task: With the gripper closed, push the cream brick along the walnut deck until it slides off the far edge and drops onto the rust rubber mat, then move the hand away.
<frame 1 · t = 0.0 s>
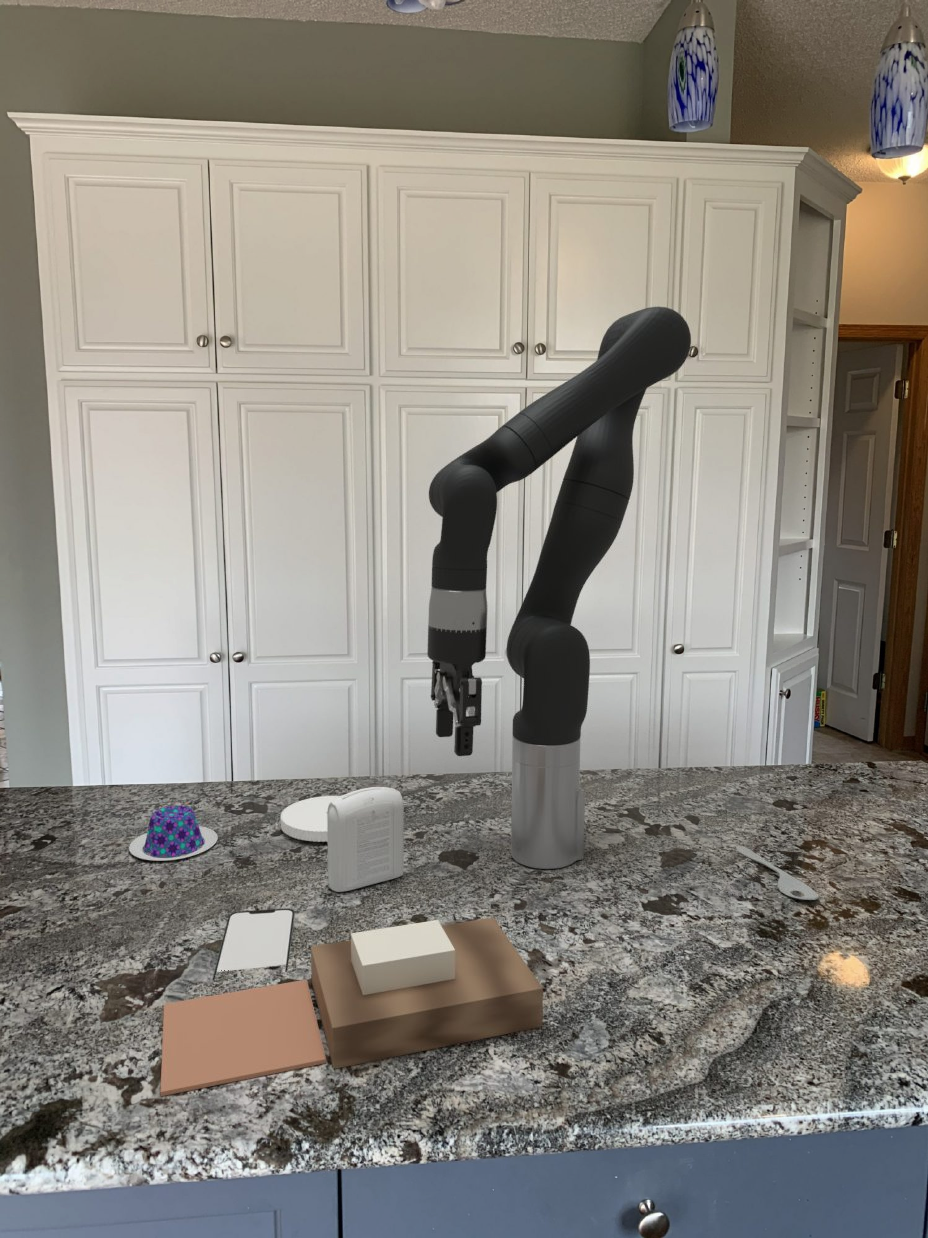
hand: (453, 745, 113), 17 cm above the counter, tool pointing down, fingers open, 8 cm apart
plastic lid: (328, 830, 130), on the counter
smartphone: (255, 951, 97), on the counter
mat: (241, 1034, 81), on the counter
cream brick: (402, 970, 85), point 4 cm above the counter, touching deck
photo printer: (366, 882, 112), on the counter
spoon: (767, 874, 116), on the counter
purple patterned hat: (174, 848, 123), on the counter
deck: (422, 1003, 86), on the counter
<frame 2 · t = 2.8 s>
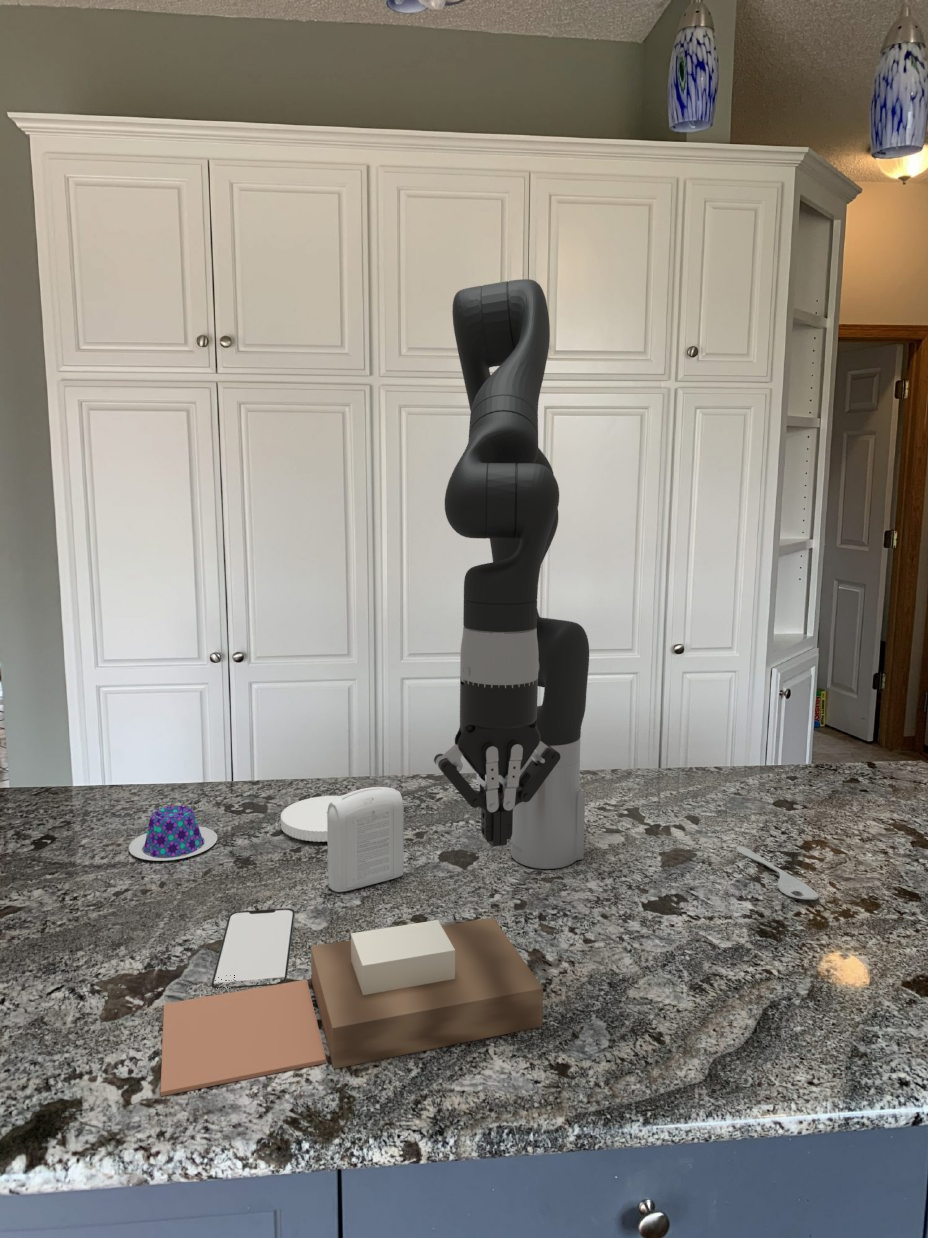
hand: (496, 843, 86), 16 cm above the counter, tool pointing down, fingers closed
nothing on the counter moved.
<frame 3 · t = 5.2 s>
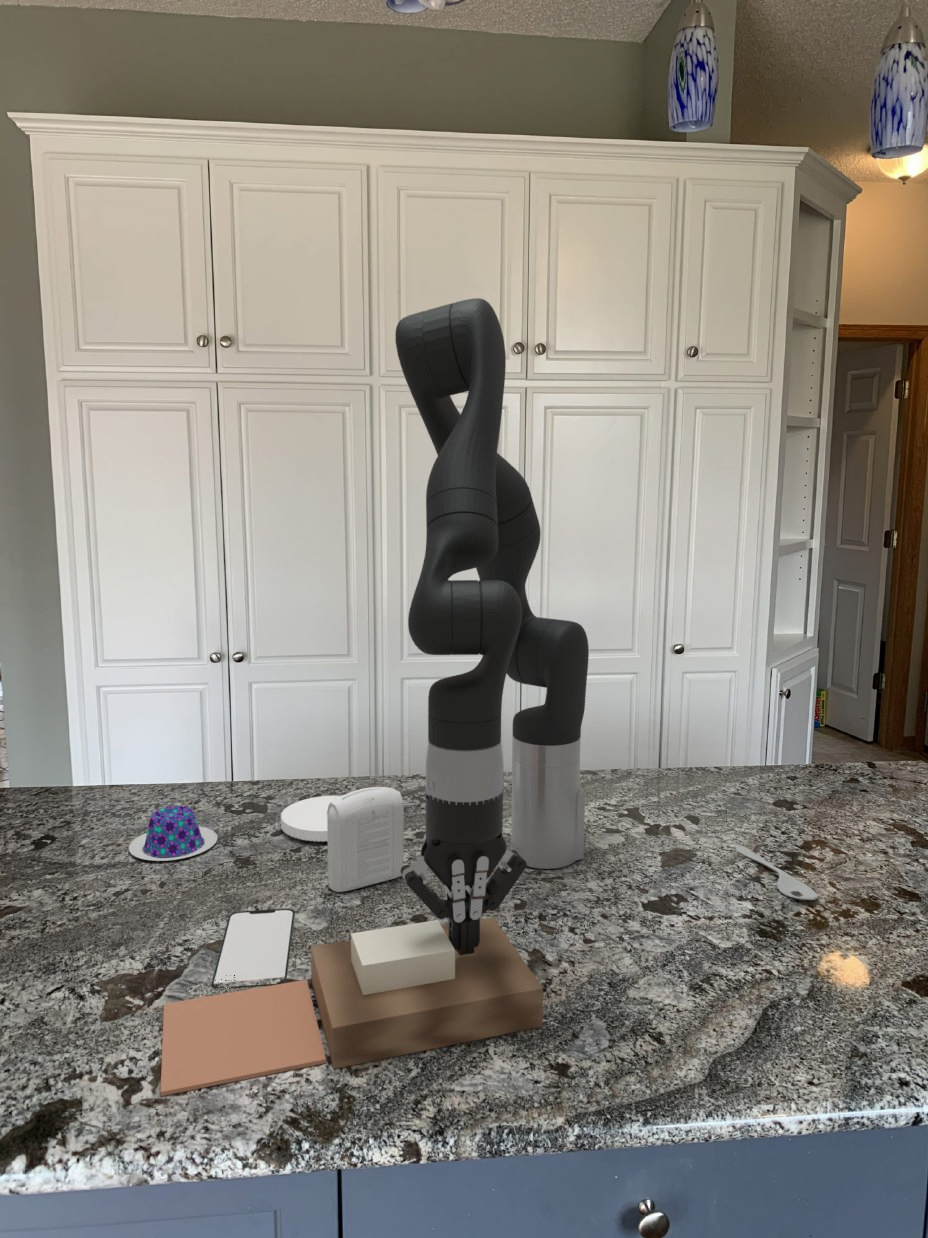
hand: (463, 950, 86), 5 cm above the counter, tool pointing down, fingers closed
cream brick: (402, 970, 85), point 4 cm above the counter, touching gripper
everything else where it was.
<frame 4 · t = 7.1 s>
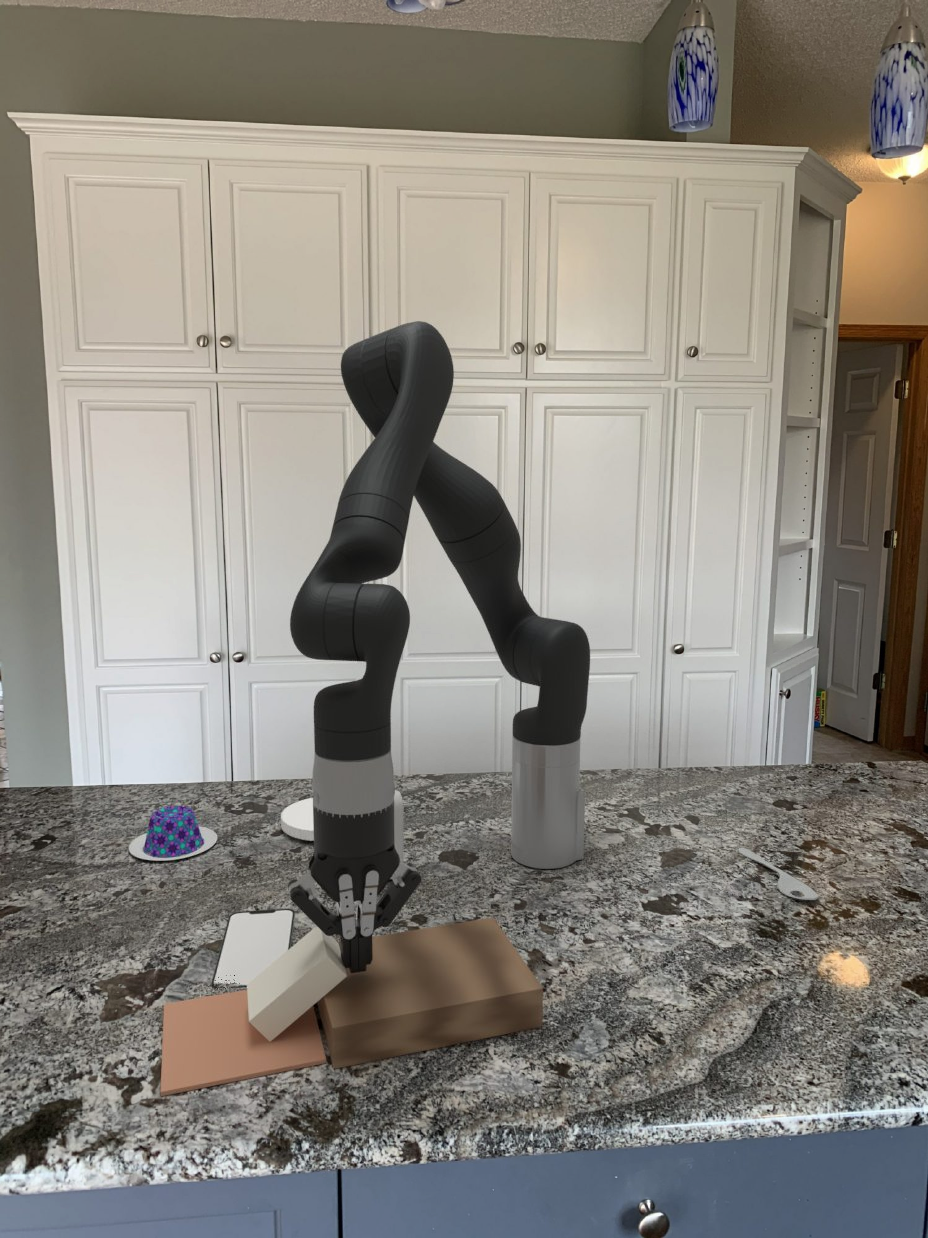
hand: (356, 968, 83), 5 cm above the counter, tool pointing down, fingers closed
cream brick: (305, 990, 83), point 3 cm above the counter, tilted 37°, touching gripper
everything else where it was.
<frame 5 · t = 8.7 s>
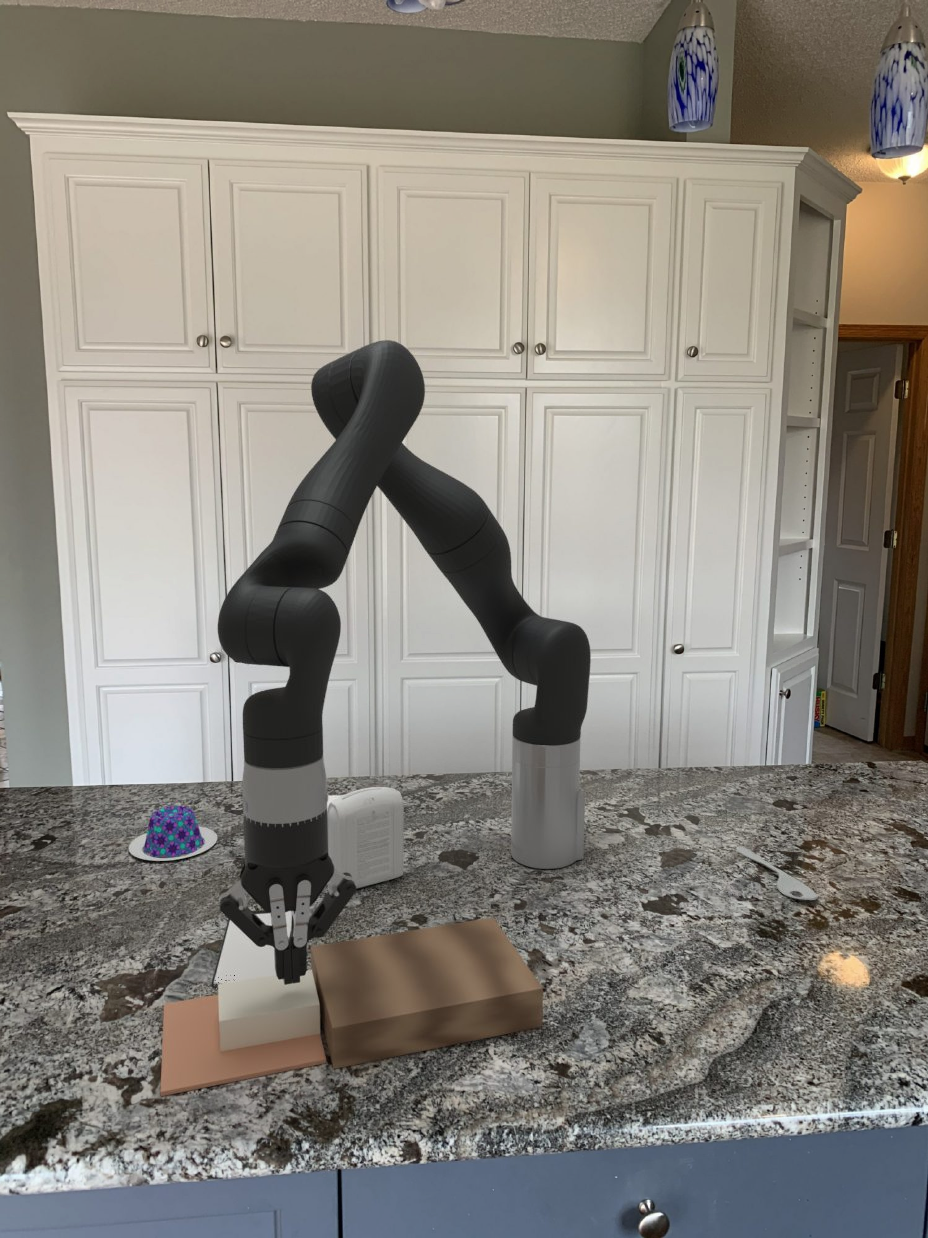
hand: (290, 979, 81), 5 cm above the counter, tool pointing down, fingers closed
cream brick: (268, 1023, 82), resting on mat
everything else where it was.
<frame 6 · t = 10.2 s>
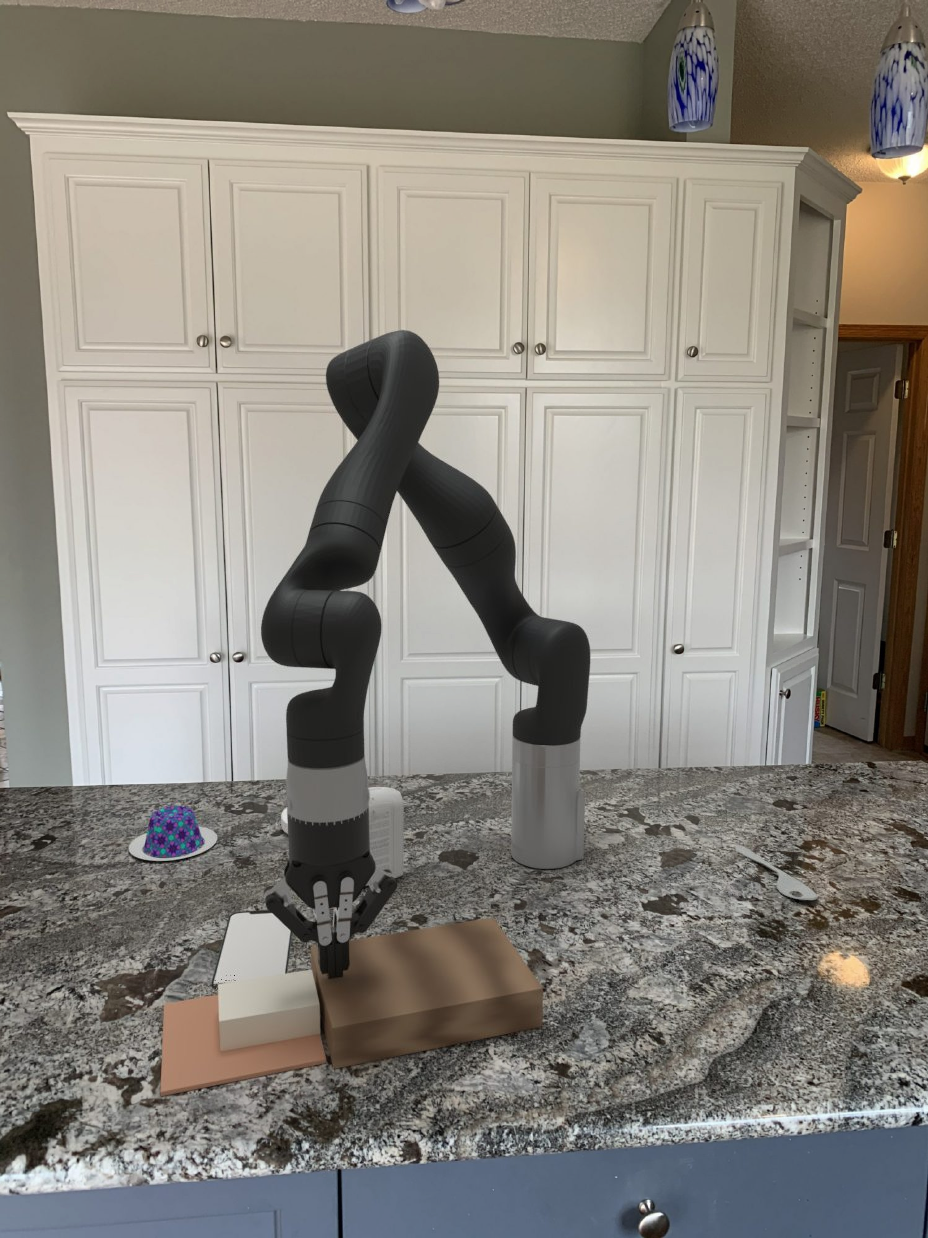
hand: (333, 973, 83), 5 cm above the counter, tool pointing down, fingers closed
nothing on the counter moved.
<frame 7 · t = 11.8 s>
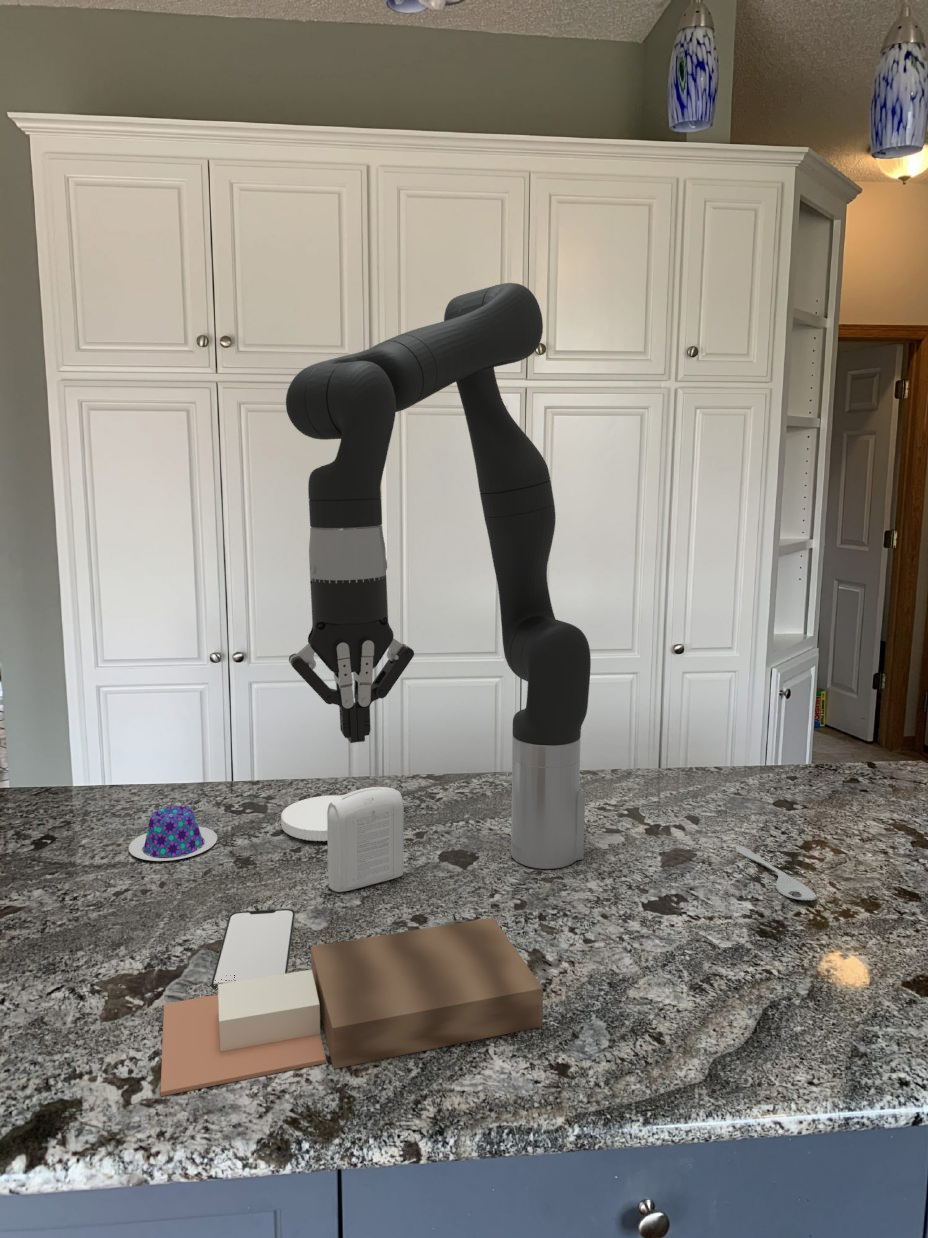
hand: (355, 740, 88), 25 cm above the counter, tool pointing down, fingers closed
nothing on the counter moved.
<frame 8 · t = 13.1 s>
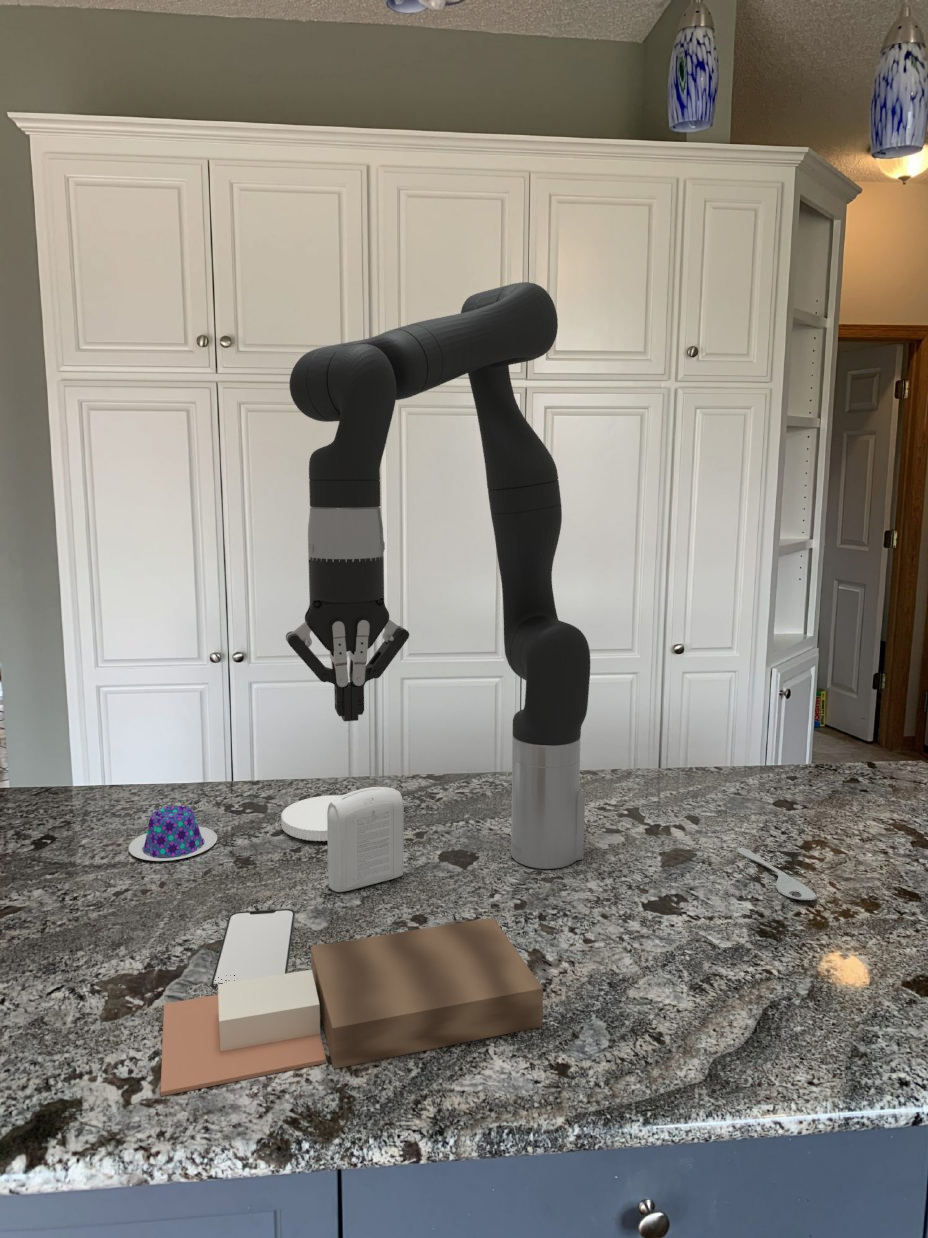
hand: (349, 719, 90), 27 cm above the counter, tool pointing down, fingers closed
nothing on the counter moved.
at the end: cream brick resting on mat; cream brick inside the target area on the mat (2.6 cm from its centre), point 0.4 cm above the mat's base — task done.
